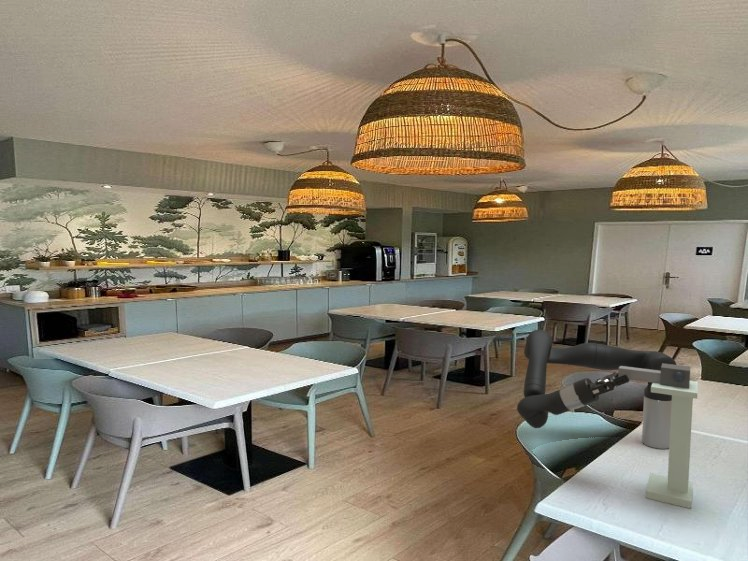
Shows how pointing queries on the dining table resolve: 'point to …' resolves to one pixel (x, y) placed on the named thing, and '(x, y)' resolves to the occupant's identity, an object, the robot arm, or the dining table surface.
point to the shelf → (676, 449)
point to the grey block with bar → (660, 375)
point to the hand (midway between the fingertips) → (629, 374)
